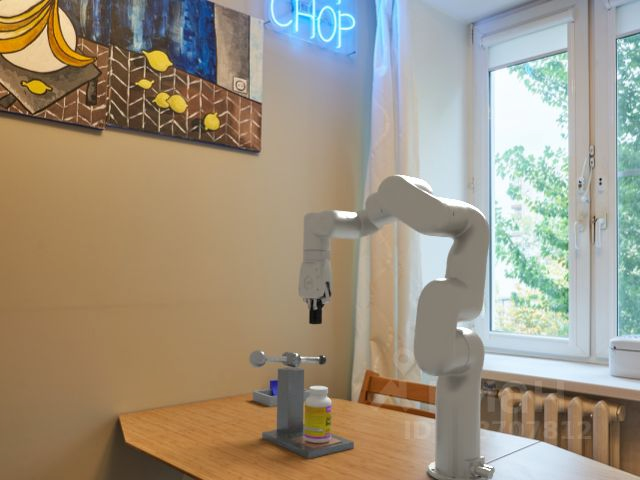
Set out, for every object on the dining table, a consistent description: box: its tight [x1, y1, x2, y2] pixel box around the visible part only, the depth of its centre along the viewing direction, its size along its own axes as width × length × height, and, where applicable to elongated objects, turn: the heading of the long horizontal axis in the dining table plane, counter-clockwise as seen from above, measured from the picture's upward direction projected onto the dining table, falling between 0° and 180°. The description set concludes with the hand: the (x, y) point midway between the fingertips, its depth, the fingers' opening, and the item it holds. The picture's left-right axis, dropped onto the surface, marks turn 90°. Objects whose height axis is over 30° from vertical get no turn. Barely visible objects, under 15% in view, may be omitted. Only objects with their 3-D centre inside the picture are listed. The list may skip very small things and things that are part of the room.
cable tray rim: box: [252, 388, 310, 408], centre depth 191 cm, size 11×17×3 cm, turn 128°
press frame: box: [261, 366, 355, 459], centre depth 144 cm, size 20×14×18 cm
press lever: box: [248, 349, 328, 369], centre depth 150 cm, size 4×24×4 cm, turn 128°
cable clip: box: [269, 379, 278, 396], centre depth 191 cm, size 12×4×6 cm, turn 25°
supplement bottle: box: [304, 385, 332, 443], centre depth 141 cm, size 7×7×13 cm
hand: (315, 323), depth 156 cm, fingers closed
